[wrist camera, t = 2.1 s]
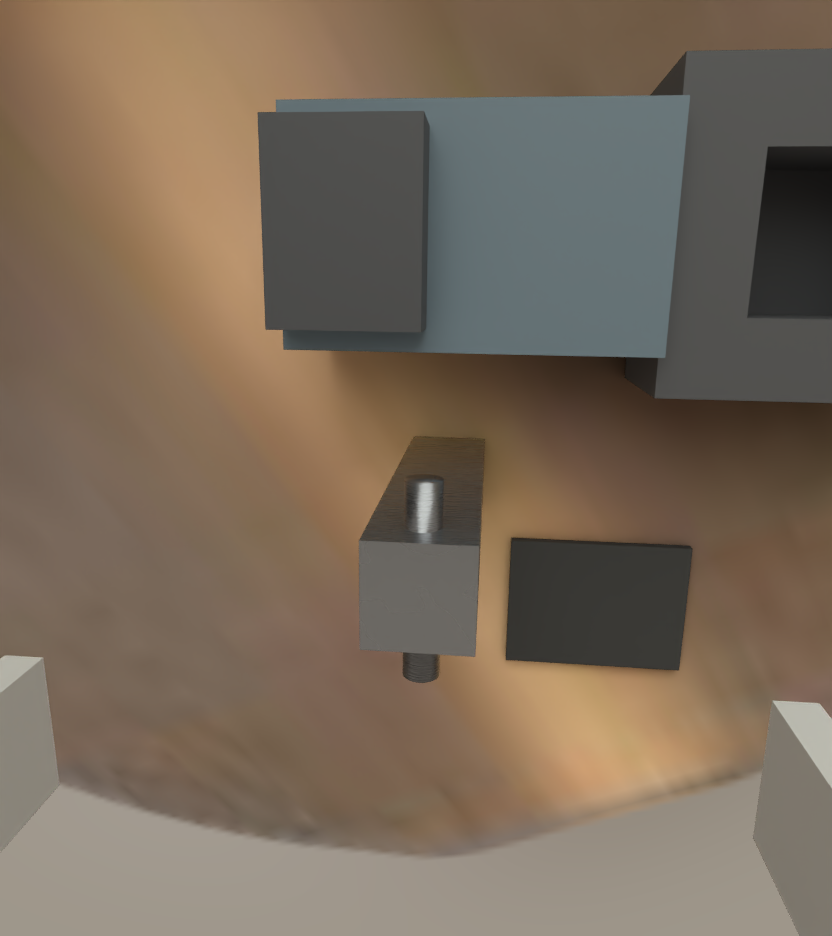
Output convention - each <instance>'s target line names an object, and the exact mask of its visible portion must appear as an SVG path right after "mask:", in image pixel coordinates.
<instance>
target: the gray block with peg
mask: <svg viewBox="0 0 832 936" xmlns="http://www.w3.org/2000/svg"><path fill="white" fill-rule="evenodd" d="M484 444H485V439H470V438H439V437H413V439H412V441H411V443H410V445H409V447H408V448H407V450H406V452H405V454H404V456H403V458H402V460H401V462H400V464H399V466H398V467H397V469H396V471H395V473H394V475H393V477H392V479H391V481H390V483H389V485H388V486H387V488H386V490H385V492H384V494H383V496H382V498H381V500H380V502H379V504H378V505H377V507H376V509H375V511H374V513H373V515H372V517H371V519H370V521H369V523H368V525H367V526H366V528H365V530H364V532H363V534H362V536H361V538H360V540H359V615H360V650H374V651H390V652H403V676H404V677H405V678H406V679H408V680H410V681H413V682H418V683H425V682H431V681H433V680H435V679H437V678H438V677H439V673H440V655H455V656H471V657H475V651H476V630H477V608H478V587H479V565H480V544H481V522H482V499H483V471H484Z"/></svg>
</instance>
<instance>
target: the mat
mask: <svg viewBox="0 0 832 936" xmlns="http://www.w3.org/2000/svg"><path fill="white" fill-rule="evenodd" d="M691 558H692V548H691V546H682V545H660V544H638V543H616V542H594V541H573V540H551V539H529V538H512V539H511V560H510V581H509V602H508V623H507V644H506V660H518V661H534V662H550V663H567V664H583V665H599V666H615V667H632V668H648V669H664V670H679V665H680V656H681V647H682V638H683V630H684V621H685V612H686V603H687V594H688V585H689V576H690V567H691Z"/></svg>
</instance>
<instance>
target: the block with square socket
mask: <svg viewBox="0 0 832 936" xmlns="http://www.w3.org/2000/svg"><path fill="white" fill-rule="evenodd" d="M258 134H259V162H260V189H261V217H262V244H263V272H264V299H265V327H266V330H283V346H284V350H329V351H374V352H419V353H464V354H509V355H555V356H600V357H626V366H625V378H626V379H627V380H629V381H630V382H632V383H633V384H635V385H636V386H637V387H639V388H640V389H642V390H643V391H645V392H646V393H648V394H649V395H651V396H652V397H653V398H664V399H701V400H737V401H774V402H811V403H832V49H781V50H721V51H686V53H685V54H684V55H683V56H682V58H681V59H680V60H679V61H678V62H677V64H676V65H675V66H674V67H673V68H672V70H671V71H670V72H669V73H668V74H667V76H666V77H665V78H664V79H663V81H662V82H661V83H660V84H659V85H658V87H657V88H656V89H655V90H654V91H653V93H652V94H651V95H650V96H568V97H477V98H387V99H297V100H276V112H258Z"/></svg>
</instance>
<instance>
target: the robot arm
mask: <svg viewBox="0 0 832 936" xmlns="http://www.w3.org/2000/svg"><path fill="white" fill-rule="evenodd" d="M59 785H60V784H59V776H58V768H57V761H56V753H55V745H54V737H53V730H52V722H51V714H50V706H49V699H48V691H47V683H46V675H45V668H44V660H43V658H41V657H24V656H7V655H5V656H3V657H2V658H1V659H0V853H1V852H2V850H3V849H4V848H5V847H6V846H7V845H8V844H9V842H10V841H11V840H12V839H13V838H14V837H15V836H16V834H17V833H18V832H19V831H20V830H21V829H22V827H23V826H24V825H25V824H26V823H27V822H28V821H29V819H30V818H31V817H32V816H33V815H34V813H36V811H37V810H38V809H39V808H40V807H41V805H42V804H43V803H44V802H45V801H46V800H47V799H48V798H49V796H50V795H51V794H52V793H53V792H54V791H55V790H56V788H57V787H58V786H59ZM753 839H754V841H755V843H756V845H757V847H758V849H759V851H760V853H761V856H762V858H763V860H764V862H765V864H766V866H767V868H768V870H769V873H770V875H771V877H772V879H773V881H774V883H775V885H776V887H777V889H778V891H779V894H780V896H781V898H782V900H783V902H784V904H785V906H786V909H787V911H788V913H789V915H790V917H791V919H792V921H793V923H794V925H795V928H796V930H797V932H798V934H799V936H832V719H831V718H830V716H829V715H828V714H827V712H826V711H825V710H824V709H823V707H822V706H821V705H820V704H819V703H805V702H788V701H772V705H771V712H770V720H769V727H768V734H767V741H766V749H765V756H764V763H763V770H762V778H761V785H760V792H759V799H758V806H757V813H756V821H755V829H754V835H753Z"/></svg>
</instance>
